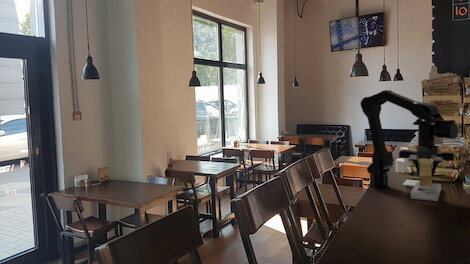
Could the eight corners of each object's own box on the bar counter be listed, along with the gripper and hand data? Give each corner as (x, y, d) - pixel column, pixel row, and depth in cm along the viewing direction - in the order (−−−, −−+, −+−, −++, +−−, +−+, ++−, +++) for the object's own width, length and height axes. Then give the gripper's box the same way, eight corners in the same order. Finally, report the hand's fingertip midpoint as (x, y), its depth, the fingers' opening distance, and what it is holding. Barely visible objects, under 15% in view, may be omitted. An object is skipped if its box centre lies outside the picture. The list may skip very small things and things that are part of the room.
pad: (428, 188, 156) (428, 186, 155) (403, 185, 161) (403, 184, 161) (430, 182, 164) (430, 181, 164) (406, 180, 169) (406, 179, 169)
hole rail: (437, 201, 137) (437, 194, 137) (410, 198, 142) (410, 191, 141) (440, 190, 152) (440, 184, 152) (416, 187, 157) (416, 181, 156)
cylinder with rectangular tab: (417, 173, 184) (417, 149, 182) (397, 173, 185) (398, 149, 184) (412, 169, 192) (412, 147, 191) (393, 169, 194) (394, 147, 193)
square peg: (431, 187, 141) (431, 164, 140) (419, 186, 143) (419, 163, 142) (431, 185, 144) (432, 162, 143) (420, 184, 146) (420, 161, 145)
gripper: (396, 138, 140) (396, 179, 141) (453, 140, 130) (452, 183, 131) (401, 135, 149) (401, 173, 151) (455, 136, 139) (454, 177, 141)
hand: (425, 176), depth 143 cm, fingers closed on square peg, 4 cm apart
